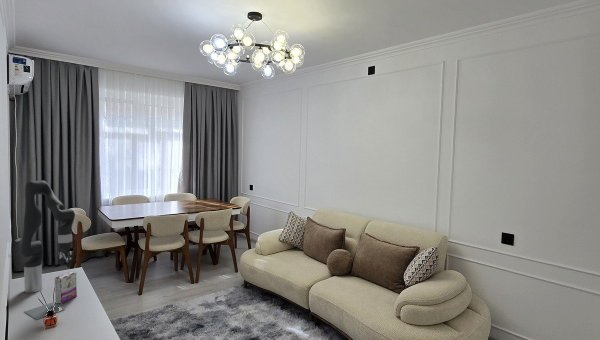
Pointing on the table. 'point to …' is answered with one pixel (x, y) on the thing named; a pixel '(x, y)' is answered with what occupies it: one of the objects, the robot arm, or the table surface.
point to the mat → (41, 311)
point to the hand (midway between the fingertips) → (65, 266)
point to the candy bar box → (65, 287)
